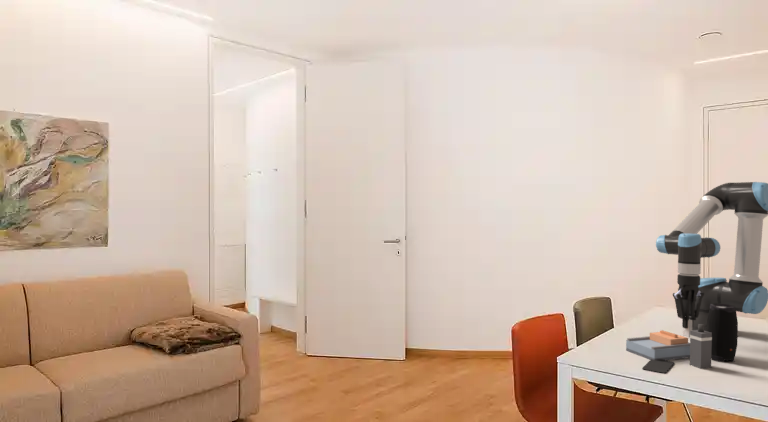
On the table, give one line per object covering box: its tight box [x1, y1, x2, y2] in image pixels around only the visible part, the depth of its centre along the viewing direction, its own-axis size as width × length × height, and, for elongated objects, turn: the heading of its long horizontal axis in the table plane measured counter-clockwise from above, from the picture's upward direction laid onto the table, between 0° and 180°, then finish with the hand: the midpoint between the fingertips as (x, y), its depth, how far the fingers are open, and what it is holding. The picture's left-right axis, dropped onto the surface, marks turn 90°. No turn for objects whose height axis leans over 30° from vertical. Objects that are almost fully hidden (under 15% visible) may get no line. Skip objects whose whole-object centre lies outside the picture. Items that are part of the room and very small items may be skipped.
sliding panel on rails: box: [625, 335, 690, 361], centre depth 202 cm, size 20×14×5 cm
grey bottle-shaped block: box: [689, 324, 712, 370], centre depth 187 cm, size 5×5×14 cm
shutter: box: [649, 329, 689, 345], centre depth 203 cm, size 8×10×4 cm
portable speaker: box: [707, 303, 739, 363], centre depth 195 cm, size 9×9×20 cm
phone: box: [642, 359, 675, 375], centre depth 187 cm, size 7×1×15 cm
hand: (687, 336), depth 206 cm, fingers closed
